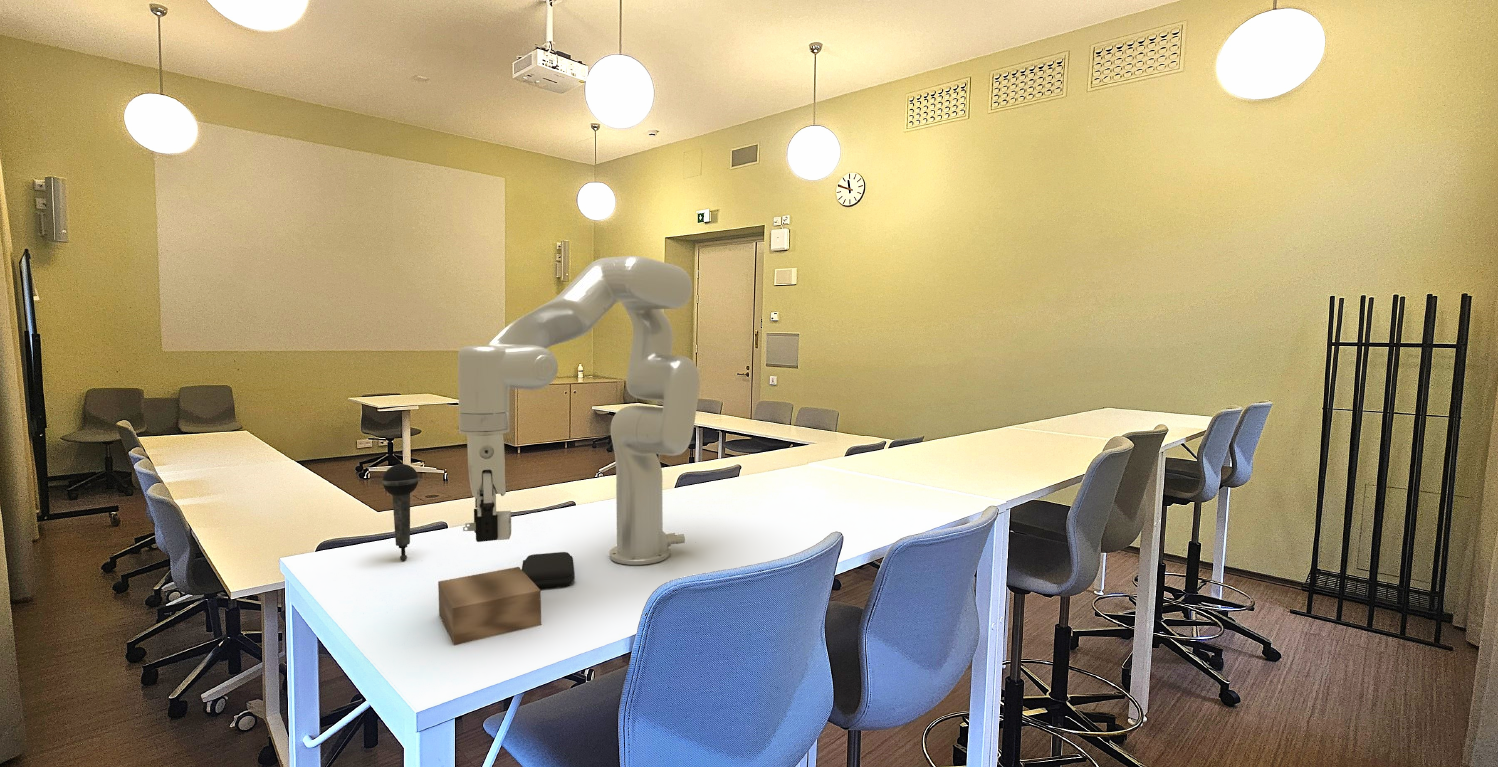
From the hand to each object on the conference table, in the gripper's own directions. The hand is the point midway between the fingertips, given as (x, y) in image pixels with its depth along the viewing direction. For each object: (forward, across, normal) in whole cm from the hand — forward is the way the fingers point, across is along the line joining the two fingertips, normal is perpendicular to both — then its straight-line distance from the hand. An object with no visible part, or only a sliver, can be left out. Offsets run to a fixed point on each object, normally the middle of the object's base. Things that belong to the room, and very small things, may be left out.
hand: (485, 534), depth 108 cm
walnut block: (+14, 0, 0) cm, 14 cm away
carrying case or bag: (+14, +17, -12) cm, 25 cm away
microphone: (+14, +38, +14) cm, 43 cm away
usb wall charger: (+1, 0, 0) cm, 1 cm away
